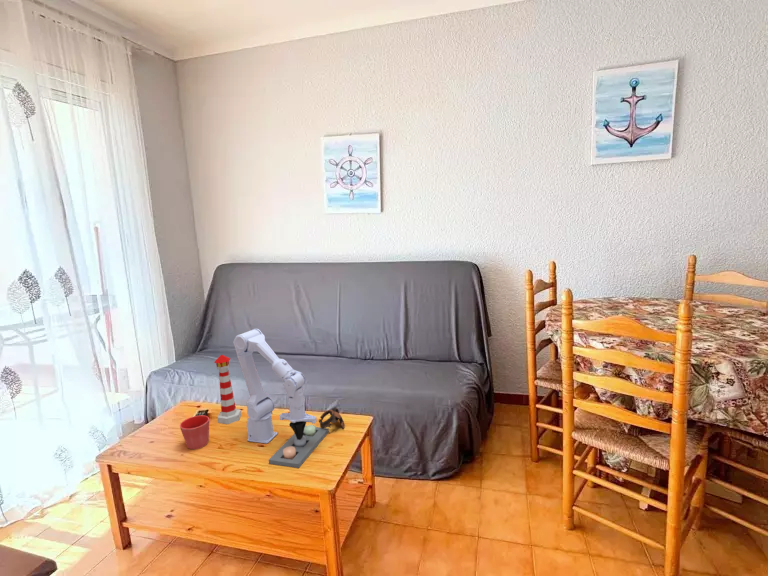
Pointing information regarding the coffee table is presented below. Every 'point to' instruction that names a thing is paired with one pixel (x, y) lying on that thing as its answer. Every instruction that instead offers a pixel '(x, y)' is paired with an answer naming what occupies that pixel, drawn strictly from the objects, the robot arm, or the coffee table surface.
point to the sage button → (310, 430)
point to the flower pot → (195, 431)
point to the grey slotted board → (299, 449)
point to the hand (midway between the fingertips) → (299, 438)
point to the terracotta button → (289, 452)
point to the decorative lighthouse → (226, 393)
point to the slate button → (300, 442)
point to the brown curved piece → (331, 418)
